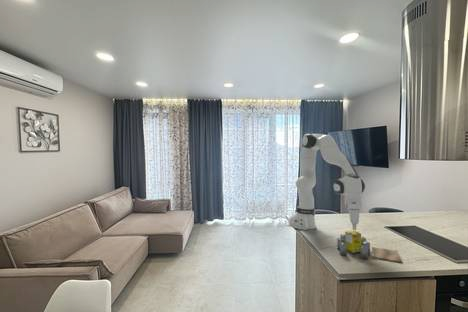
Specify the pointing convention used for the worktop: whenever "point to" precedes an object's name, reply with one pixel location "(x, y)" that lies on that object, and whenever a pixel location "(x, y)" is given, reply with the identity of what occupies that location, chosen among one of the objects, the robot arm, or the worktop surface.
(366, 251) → the spacer field
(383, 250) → the walnut pad
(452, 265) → the worktop surface
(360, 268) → the worktop surface
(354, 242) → the supplement box
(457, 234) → the worktop surface
